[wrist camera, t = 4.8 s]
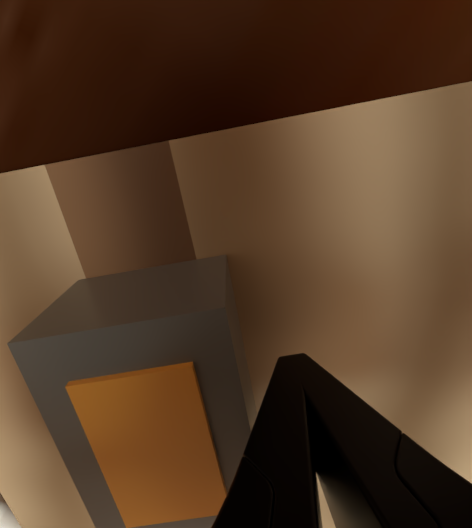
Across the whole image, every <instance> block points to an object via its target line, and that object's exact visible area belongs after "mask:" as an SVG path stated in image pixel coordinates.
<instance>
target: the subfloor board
mask: <svg viewBox="0 0 472 528" xmlns="http://www.w3.org/2000/svg"><path fill="white" fill-rule="evenodd" d="M220 255H226V256H227V261H228V267H229V272H230V277H231V282H232V287H233V292H234V298H235V303H236V308H237V313H238V318H239V323H240V328H241V334H242V339H243V344H244V349H245V354H246V359H247V365H248V370H249V375H250V380H251V385H252V390H253V396H254V401H255V406H256V411H257V414H258V411H259V409H260V406H261V403H262V400H263V398H264V395H265V392H266V390H267V387H268V384H269V381H270V379H271V376H272V373H273V370H274V368H275V365H276V362H277V359H278V358H279V357H280V356H286V355H293V354H299V353H305V354H307V355H308V356H309V357H311V358H312V359H313V360H314V361H315V362H317V363H318V364H319V365H320V366H322V367H323V368H324V369H325V370H327V371H328V372H329V373H330V374H332V375H333V376H334V377H335V378H337V379H338V380H339V381H340V382H342V383H343V384H344V385H345V386H346V387H348V388H349V389H350V390H351V391H353V392H354V393H355V394H356V395H358V396H359V397H360V398H361V399H363V400H364V401H365V402H366V403H368V404H369V405H370V406H371V407H373V408H374V409H375V410H376V411H377V412H379V413H380V414H381V415H382V416H384V417H385V418H386V419H387V420H389V421H390V422H391V423H392V424H394V425H395V426H396V427H397V428H399V429H400V430H401V431H402V433H405V434H406V435H407V436H409V437H410V438H411V439H412V440H414V441H415V442H416V443H417V444H419V445H420V446H421V447H422V448H424V449H425V450H426V451H428V452H429V453H430V454H432V455H433V456H434V457H436V458H437V459H438V460H439V461H441V462H442V463H443V464H445V465H446V466H448V467H449V468H450V469H452V470H453V471H455V472H456V473H458V474H459V475H460V476H462V477H463V478H465V479H466V480H468V481H469V482H470V483H472V81H471V82H466V83H461V84H456V85H450V86H445V87H440V88H435V89H430V90H425V91H420V92H415V93H410V94H404V95H399V96H394V97H389V98H384V99H379V100H374V101H369V102H364V103H358V104H353V105H348V106H343V107H338V108H333V109H328V110H323V111H318V112H312V113H307V114H302V115H297V116H292V117H287V118H282V119H277V120H271V121H266V122H261V123H256V124H251V125H246V126H241V127H236V128H231V129H225V130H220V131H215V132H210V133H205V134H200V135H195V136H190V137H185V138H179V139H174V140H169V141H164V142H159V143H154V144H149V145H144V146H139V147H133V148H128V149H123V150H118V151H113V152H108V153H103V154H98V155H93V156H87V157H82V158H77V159H72V160H67V161H62V162H57V163H52V164H47V165H41V166H36V167H31V168H26V169H21V170H16V171H11V172H6V173H0V493H1V494H2V496H3V498H4V499H5V501H6V503H7V504H8V506H9V507H10V509H11V511H12V512H13V514H14V516H15V517H16V519H17V521H18V522H19V524H20V526H21V527H22V528H95V526H94V523H93V521H92V519H91V517H90V515H89V513H88V511H87V509H86V507H85V505H84V503H83V501H82V499H81V496H80V494H79V492H78V490H77V488H76V486H75V484H74V482H73V480H72V478H71V476H70V474H69V472H68V469H67V467H66V465H65V463H64V461H63V459H62V457H61V455H60V453H59V451H58V449H57V447H56V445H55V442H54V440H53V438H52V436H51V434H50V432H49V430H48V428H47V426H46V424H45V422H44V420H43V418H42V415H41V413H40V411H39V409H38V407H37V405H36V403H35V401H34V399H33V397H32V395H31V393H30V390H29V388H28V386H27V384H26V382H25V380H24V378H23V376H22V374H21V372H20V370H19V368H18V366H17V363H16V361H15V359H14V357H13V355H12V353H11V351H10V349H9V347H8V345H7V343H8V342H9V341H11V340H12V339H13V338H14V337H15V336H16V335H17V334H18V333H20V332H21V331H22V330H23V329H24V328H25V327H26V326H27V325H28V324H30V323H31V322H32V321H33V320H34V319H35V318H36V317H37V316H39V315H40V314H41V313H42V312H43V311H44V310H45V309H46V308H48V307H49V306H50V305H51V304H52V303H53V302H54V301H55V300H56V299H58V298H59V297H60V296H61V295H62V294H63V293H64V292H65V291H67V290H68V289H69V288H70V287H71V286H72V285H73V284H74V283H75V282H77V281H78V280H81V279H87V278H92V277H98V276H104V275H110V274H115V273H121V272H127V271H133V270H139V269H144V268H150V267H156V266H162V265H168V264H173V263H179V262H185V261H191V260H197V259H202V258H208V257H214V256H220ZM316 475H317V473H316ZM317 483H318V492H319V500H320V509H321V517H322V526H323V528H336V527H335V524H334V521H333V518H332V516H331V513H330V510H329V507H328V504H327V501H326V499H325V496H324V493H323V490H322V487H321V484H320V482H319V479H318V476H317Z"/></svg>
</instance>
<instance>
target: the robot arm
mask: <svg viewBox="0 0 472 528" xmlns="http://www.w3.org/2000/svg"><path fill="white" fill-rule="evenodd" d="M316 473H317V475H316ZM317 476H318V479H319V482H320V484H321V487H322V490H323V493H324V496H325V499H326V501H327V504H328V507H329V510H330V513H331V516H332V518H333V521H334V524H335V527H336V528H472V483H470V482H469V481H468V480H466V479H465V478H463V477H462V476H460V475H459V474H458V473H456V472H455V471H453V470H452V469H450V468H449V467H448V466H446V465H445V464H443V463H442V462H441V461H439V460H438V459H437V458H436V457H434V456H433V455H432V454H430V453H429V452H428V451H426V450H425V449H424V448H422V447H421V446H420V445H419V444H417V443H416V442H415V441H414V440H412V439H411V438H410V437H409V436H407V435H406V434H405V433H402V431H401V430H400V429H399V428H397V427H396V426H395V425H394V424H392V423H391V422H390V421H389V420H387V419H386V418H385V417H384V416H382V415H381V414H380V413H379V412H377V411H376V410H375V409H374V408H373V407H371V406H370V405H369V404H368V403H366V402H365V401H364V400H363V399H361V398H360V397H359V396H358V395H356V394H355V393H354V392H353V391H351V390H350V389H349V388H348V387H346V386H345V385H344V384H343V383H342V382H340V381H339V380H338V379H337V378H335V377H334V376H333V375H332V374H330V373H329V372H328V371H327V370H325V369H324V368H323V367H322V366H320V365H319V364H318V363H317V362H315V361H314V360H313V359H312V358H311V357H309V356H308V355H307V354H305V353H299V354H293V355H286V356H280V357H279V358H278V359H277V362H276V365H275V368H274V370H273V373H272V376H271V379H270V381H269V384H268V387H267V390H266V392H265V395H264V398H263V400H262V403H261V406H260V409H259V411H258V414H257V417H256V420H255V422H254V425H253V428H252V431H251V433H250V436H249V439H248V441H247V444H246V447H245V450H244V452H243V457H242V458H241V460H240V463H239V466H238V468H237V471H236V474H235V476H234V479H233V481H232V484H231V486H230V488H229V491H228V493H227V496H226V498H225V500H224V502H223V504H222V506H221V508H220V510H219V512H218V515H217V517H216V519H215V521H214V523H213V525H212V527H211V528H323V526H322V517H321V509H320V500H319V492H318V483H317Z"/></svg>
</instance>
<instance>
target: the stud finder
mask: <svg viewBox="0 0 472 528" xmlns="http://www.w3.org/2000/svg"><path fill="white" fill-rule="evenodd" d="M7 345H8V347H9V349H10V351H11V353H12V355H13V357H14V359H15V361H16V363H17V366H18V368H19V370H20V372H21V374H22V376H23V378H24V380H25V382H26V384H27V386H28V388H29V390H30V393H31V395H32V397H33V399H34V401H35V403H36V405H37V407H38V409H39V411H40V413H41V415H42V418H43V420H44V422H45V424H46V426H47V428H48V430H49V432H50V434H51V436H52V438H53V440H54V442H55V445H56V447H57V449H58V451H59V453H60V455H61V457H62V459H63V461H64V463H65V465H66V467H67V469H68V472H69V474H70V476H71V478H72V480H73V482H74V484H75V486H76V488H77V490H78V492H79V494H80V496H81V499H82V501H83V503H84V505H85V507H86V509H87V511H88V513H89V515H90V517H91V519H92V521H93V523H94V526H95V528H211V527H212V525H213V523H214V521H215V519H216V517H217V515H218V512H219V510H220V508H221V506H222V504H223V502H224V500H225V498H226V496H227V493H228V491H229V488H230V486H231V484H232V481H233V479H234V476H235V474H236V471H237V468H238V466H239V463H240V460H241V458H242V457H243V452H244V450H245V447H246V444H247V441H248V439H249V436H250V433H251V431H252V428H253V425H254V422H255V420H256V417H257V411H256V406H255V401H254V396H253V390H252V385H251V380H250V375H249V370H248V365H247V359H246V354H245V349H244V344H243V339H242V334H241V328H240V323H239V318H238V313H237V308H236V303H235V298H234V292H233V287H232V282H231V277H230V272H229V267H228V261H227V256H226V255H220V256H214V257H208V258H202V259H197V260H191V261H185V262H179V263H173V264H168V265H162V266H156V267H150V268H144V269H139V270H133V271H127V272H121V273H115V274H110V275H104V276H98V277H92V278H87V279H81V280H78V281H77V282H75V283H74V284H73V285H72V286H71V287H70V288H69V289H68V290H67V291H65V292H64V293H63V294H62V295H61V296H60V297H59V298H58V299H56V300H55V301H54V302H53V303H52V304H51V305H50V306H49V307H48V308H46V309H45V310H44V311H43V312H42V313H41V314H40V315H39V316H37V317H36V318H35V319H34V320H33V321H32V322H31V323H30V324H28V325H27V326H26V327H25V328H24V329H23V330H22V331H21V332H20V333H18V334H17V335H16V336H15V337H14V338H13V339H12V340H11V341H9V342H8V343H7Z"/></svg>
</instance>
